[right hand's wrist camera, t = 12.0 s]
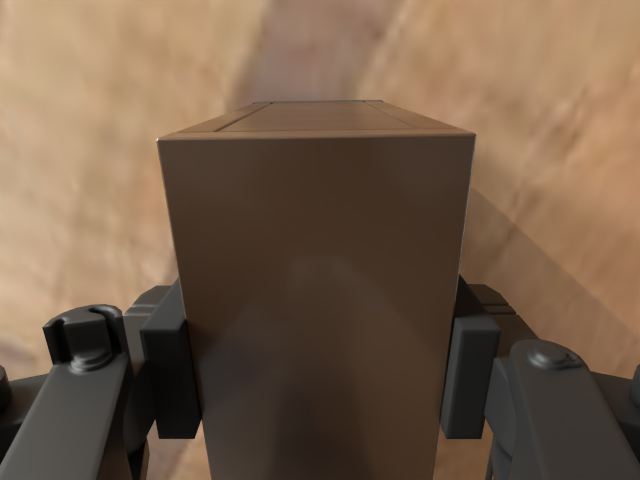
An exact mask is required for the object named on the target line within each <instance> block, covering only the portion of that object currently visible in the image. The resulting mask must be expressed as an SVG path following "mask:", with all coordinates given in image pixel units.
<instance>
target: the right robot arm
mask: <svg viewBox="0 0 640 480" xmlns="http://www.w3.org/2000/svg"><path fill="white" fill-rule="evenodd" d="M43 331H44V335H45V338H46V342H47V345H48V349H49V352H50V356H51V359H52V363H53V367H52V369H51V370H50V372H49V373H48V374H44V375H39V376H34V377H29V378H24V379H19V380H14V381H8V378H7V375H6V372H5V369H4V367H2V366H1V365H0V480H146V476H147V469H148V462H149V447H148V441H147V434H148V432H149V430H150V428H151V426H152V424H153V422H154V420H155V419H156V425H157V430H158V436H159V439H195V436H196V433H197V430H198V427H199V425H200V422H201V419H202V418H201V412H200V406H199V400H198V394H197V388H196V381H195V375H194V369H193V363H192V357H191V351H190V344H189V338H188V332H187V326H186V320H185V314H184V307H183V301H182V295H181V289H180V283H179V277H178V279H177V280H176V281H175V283H174V284H173V285H172V286H155V287H153V288H152V289H150V290H148V291H147V292H145V293H143V294H142V295H140V297H139V298H138V299H137V300H136V301H135V302H134V304H133V305H132V307H130V308H129V309H128V310H127V312H126V313H125V314H124V316H122V311H121V310H120V309H118V308H117V307H116V306H111V305H106V304H101V305H89V306H84V307H79V308H75V309H72V310H70V311H67V312H64V313H62V314H60V315H58V316H56V317H55V318H53V319H51V320H50V321H49V322H48V323H47V324H46V325H45V326H44V327H43ZM485 418H486V420H487V422H488V424H489V426H490V428H491V430H492V432H493V433H494V436H493V441H492V446H491V451H490V456H489V461H488V466H487V471H486V478H485V480H491V479H492V474H493V475H494V480H640V364H639V365H638V366H637V368H636V371H635V374H634V376H633V379H632V380H631V379H626V378H621V377H616V376H611V375H606V374H600V373H596V372H592V371H590V370H589V368H588V366H587V364H586V363H585V362H584V361H583V360H582V358H581V357H580V356H579V355H577V354H576V353H574V352H573V351H571V350H570V349H568V348H566V347H563V346H561V345H558V344H556V343H553V342H549V341H545V340H540V339H539V338H538V337H537V336H536V334H535V333H534V332H533V331H532V330H531V329H530V328H529V326H528V325H527V324H526V323H525V322H524V321H523V320H522V318H521V317H520V316H519V315H516V312H515V311H514V309H513V308H512V307H511V306H509V304H508V303H507V301H506V300H505V299H504V298H503V297H502V296H501V295H500V293H498V292H496V291H495V290H493V289H491V288H489V287H488V286H486V285H484V284H467V283H466V282H465V281H464V279H463V278H462V277H461V275H460V274H459V276H458V284H457V292H456V300H455V308H454V316H453V324H452V332H451V339H450V347H449V355H448V363H447V371H446V379H445V387H444V394H443V402H442V410H441V418H440V424H441V426H442V429H443V432H444V435H445V437H446V439H481V438H482V432H483V427H484V422H485Z"/></svg>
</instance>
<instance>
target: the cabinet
mask: <svg viewBox="0 0 640 480" xmlns="http://www.w3.org/2000/svg"><path fill="white" fill-rule="evenodd" d="M475 142H476V134H475V133H472V132H469V131H466V130H464V129H461V128H457V127H454V126H451V125H448V124H445V123H443V122H440V121H437V120H434V119H431V118H428V117H425V116H422V115H419V114H417V113H414V112H411V111H408V110H405V109H402V108H399V107H396V106H394V105H391V104H388V103H385V102H383V101H381V100H352V101H287V102H255V103H253V104H252V105H249V106H246V107H244V108H241V109H238V110H235V111H233V112H230V113H227V114H225V115H222V116H219V117H216V118H214V119H211V120H208V121H205V122H203V123H200V124H197V125H195V126H192V127H189V128H186V129H184V130H181V131H178V132H176V133H171V134H168V135H165V136H162V137H160V138H157V147H158V153H159V159H160V166H161V172H162V178H163V184H164V190H165V196H166V203H167V209H168V215H169V221H170V227H171V233H172V240H173V246H174V252H175V258H176V264H177V270H178V277H179V283H180V289H181V295H182V301H183V307H184V314H185V320H186V326H187V332H188V338H189V344H190V351H191V357H192V363H193V369H194V375H195V381H196V388H197V394H198V400H199V406H200V412H201V418H202V425H203V431H204V437H205V443H206V449H207V455H208V462H209V468H210V474H211V480H433V473H434V466H435V458H436V450H437V442H438V434H439V426H440V418H441V410H442V402H443V394H444V387H445V379H446V371H447V363H448V355H449V347H450V339H451V332H452V324H453V316H454V308H455V300H456V292H457V284H458V276H459V269H460V261H461V253H462V245H463V237H464V229H465V221H466V213H467V205H468V198H469V190H470V182H471V174H472V166H473V158H474V150H475Z"/></svg>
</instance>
